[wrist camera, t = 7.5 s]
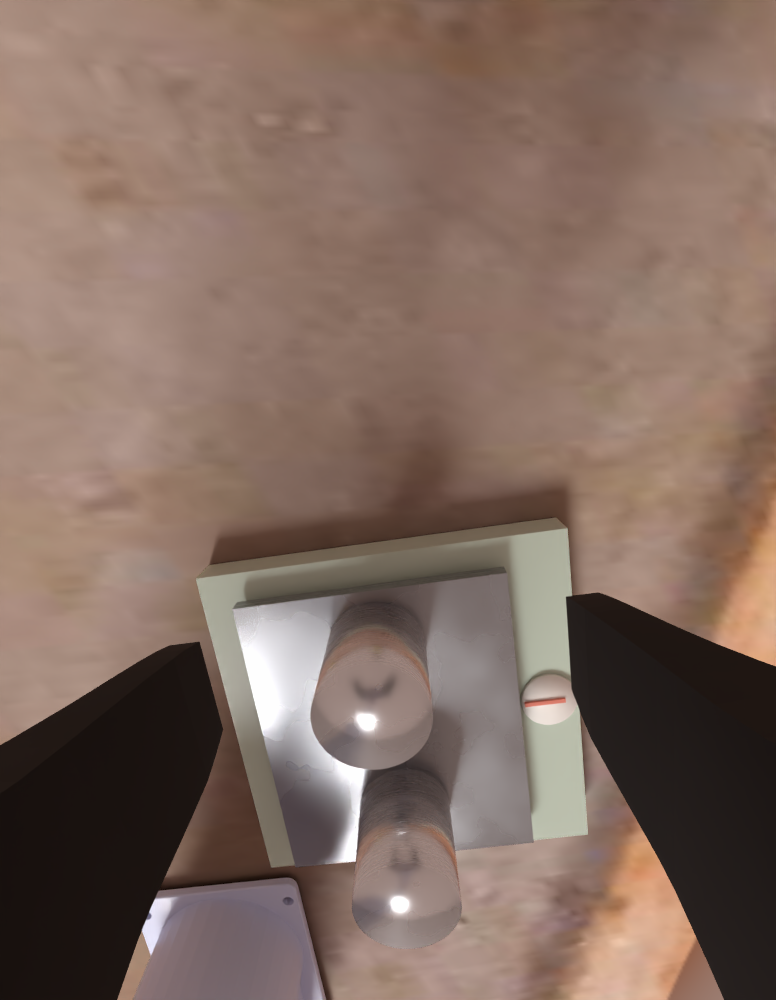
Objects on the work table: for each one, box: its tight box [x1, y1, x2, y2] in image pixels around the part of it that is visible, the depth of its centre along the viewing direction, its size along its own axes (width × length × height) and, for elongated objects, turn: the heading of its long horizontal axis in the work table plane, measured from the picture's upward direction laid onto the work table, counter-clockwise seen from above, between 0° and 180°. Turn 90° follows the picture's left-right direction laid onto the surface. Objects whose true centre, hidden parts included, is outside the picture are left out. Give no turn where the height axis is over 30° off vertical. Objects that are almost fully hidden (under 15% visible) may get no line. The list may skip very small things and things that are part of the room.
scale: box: [196, 517, 588, 868], centre depth 21 cm, size 14×14×2 cm
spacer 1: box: [310, 602, 433, 770], centre depth 17 cm, size 4×4×4 cm
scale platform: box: [232, 567, 534, 867], centre depth 20 cm, size 12×10×2 cm
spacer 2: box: [352, 769, 462, 949], centre depth 19 cm, size 4×4×4 cm
